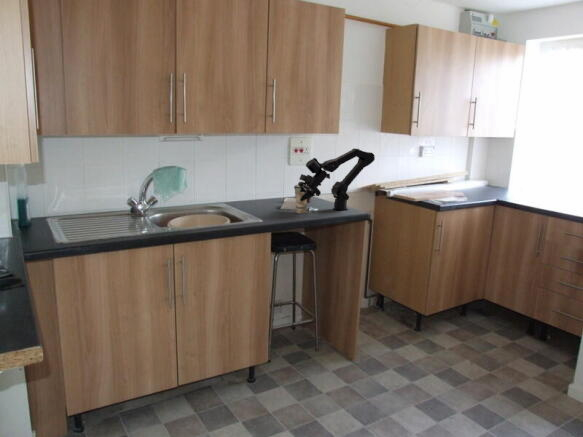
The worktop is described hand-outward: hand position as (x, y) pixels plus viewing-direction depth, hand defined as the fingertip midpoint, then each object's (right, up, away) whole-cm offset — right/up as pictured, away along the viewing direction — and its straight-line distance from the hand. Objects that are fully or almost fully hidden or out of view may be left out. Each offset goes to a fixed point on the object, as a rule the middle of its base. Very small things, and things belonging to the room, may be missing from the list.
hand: (298, 199), depth 264 cm
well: (-4, -4, +15) cm, 16 cm away
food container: (+4, 0, +34) cm, 34 cm away
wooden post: (+1, -7, +2) cm, 7 cm away
